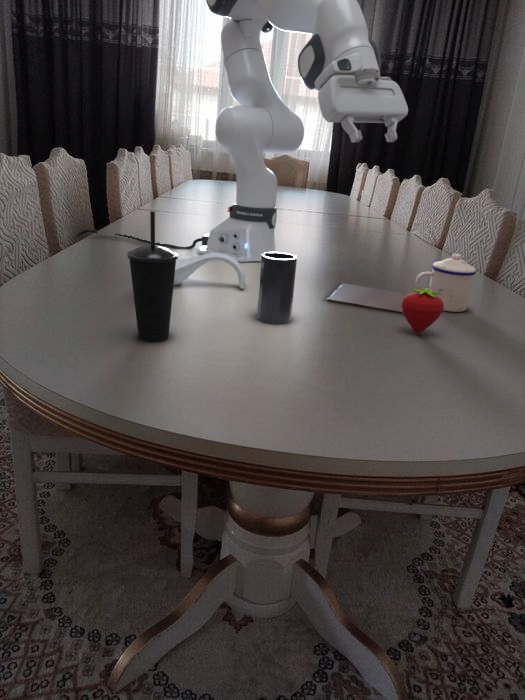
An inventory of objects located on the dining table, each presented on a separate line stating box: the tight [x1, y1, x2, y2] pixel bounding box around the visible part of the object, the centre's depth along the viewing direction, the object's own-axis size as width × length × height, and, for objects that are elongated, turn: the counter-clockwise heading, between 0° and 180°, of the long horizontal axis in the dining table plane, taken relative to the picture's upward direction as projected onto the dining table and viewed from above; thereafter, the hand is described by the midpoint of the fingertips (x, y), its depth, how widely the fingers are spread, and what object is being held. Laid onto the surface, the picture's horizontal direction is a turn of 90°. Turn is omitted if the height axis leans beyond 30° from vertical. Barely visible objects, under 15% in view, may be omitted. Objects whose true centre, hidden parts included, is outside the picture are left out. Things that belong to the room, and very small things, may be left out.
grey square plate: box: [326, 283, 409, 314], centre depth 117 cm, size 16×16×1 cm
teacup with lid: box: [415, 253, 477, 313], centre depth 113 cm, size 12×9×12 cm
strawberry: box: [401, 280, 444, 334], centre depth 95 cm, size 6×8×10 cm
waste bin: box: [256, 251, 298, 325], centre depth 96 cm, size 6×6×12 cm
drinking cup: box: [126, 211, 179, 343], centre depth 81 cm, size 8×8×20 cm
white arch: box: [174, 253, 246, 290], centre depth 116 cm, size 24×12×7 cm, turn 91°
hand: (375, 140), depth 102 cm, fingers open, 8 cm apart
